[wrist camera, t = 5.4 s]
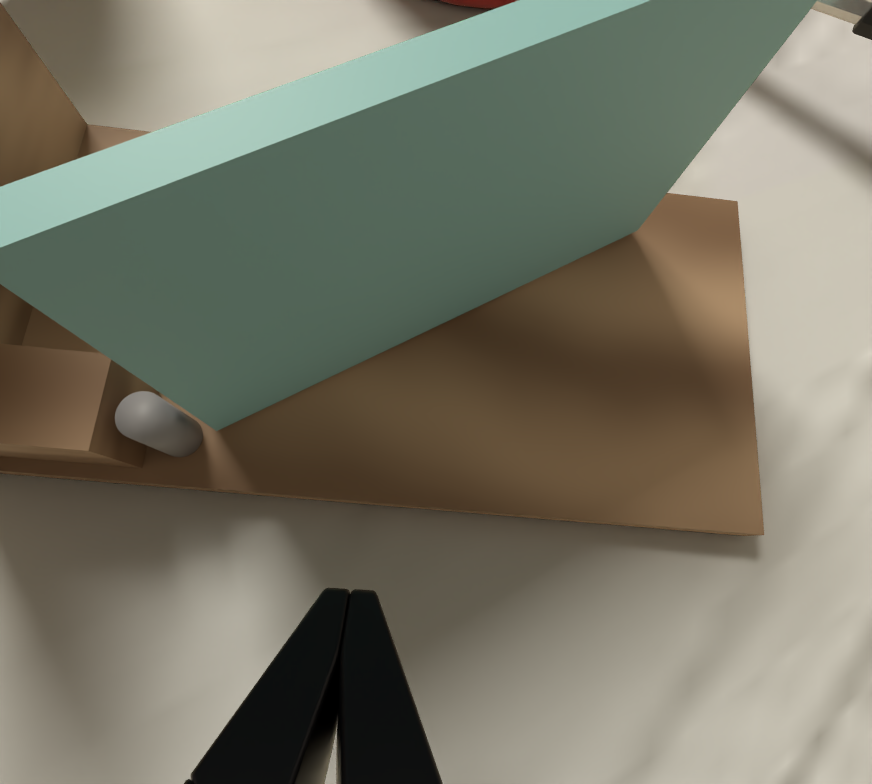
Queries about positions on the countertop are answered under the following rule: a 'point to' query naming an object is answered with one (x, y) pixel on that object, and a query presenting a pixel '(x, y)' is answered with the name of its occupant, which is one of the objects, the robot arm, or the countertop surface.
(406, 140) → the door
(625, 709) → the countertop surface
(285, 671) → the robot arm
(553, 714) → the countertop surface
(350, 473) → the cabinet base
